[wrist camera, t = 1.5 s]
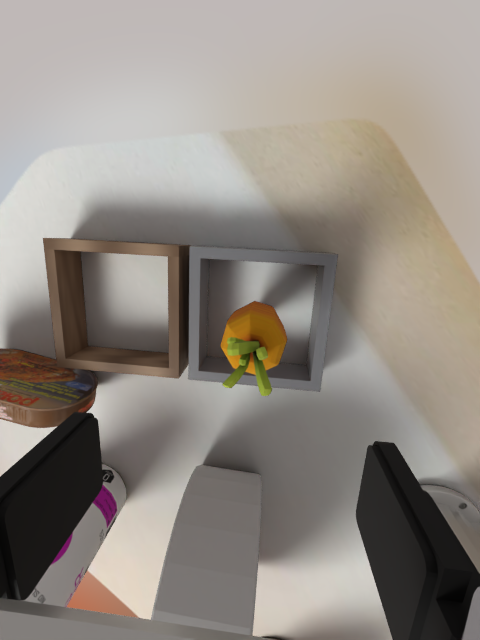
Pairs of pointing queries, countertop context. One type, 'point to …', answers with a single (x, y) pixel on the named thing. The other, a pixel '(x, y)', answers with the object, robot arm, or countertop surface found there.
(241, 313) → the carrot
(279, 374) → the charcoal bin
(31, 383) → the tin
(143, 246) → the frame
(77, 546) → the supplement can
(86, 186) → the countertop surface
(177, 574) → the alarm clock
